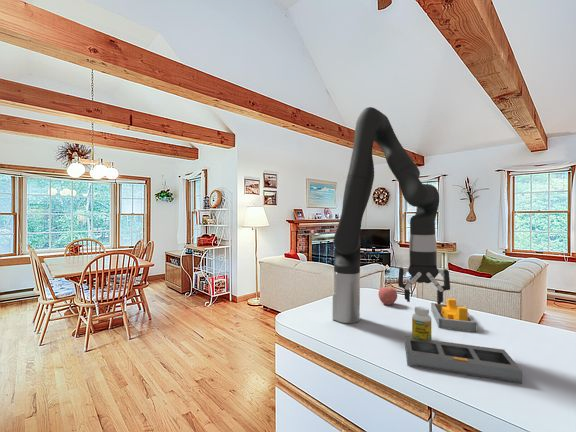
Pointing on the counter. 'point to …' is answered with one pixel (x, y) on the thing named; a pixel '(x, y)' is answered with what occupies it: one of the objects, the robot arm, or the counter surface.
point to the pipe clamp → (454, 311)
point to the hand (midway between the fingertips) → (423, 302)
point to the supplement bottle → (421, 323)
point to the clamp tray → (452, 320)
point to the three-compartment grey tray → (462, 359)
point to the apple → (387, 295)
